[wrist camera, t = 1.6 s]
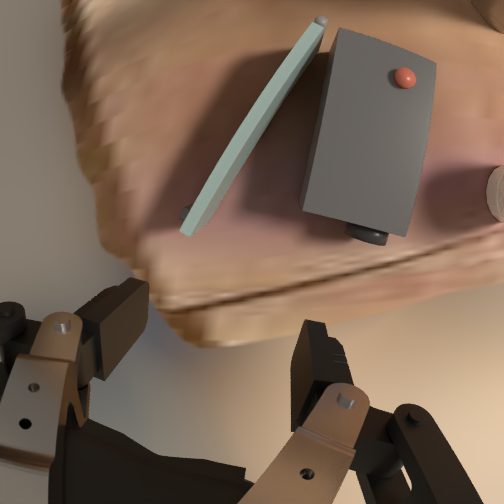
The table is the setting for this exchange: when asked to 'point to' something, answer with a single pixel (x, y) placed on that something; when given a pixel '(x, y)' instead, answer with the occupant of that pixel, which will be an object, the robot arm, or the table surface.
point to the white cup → (496, 193)
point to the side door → (253, 128)
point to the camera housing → (369, 137)
